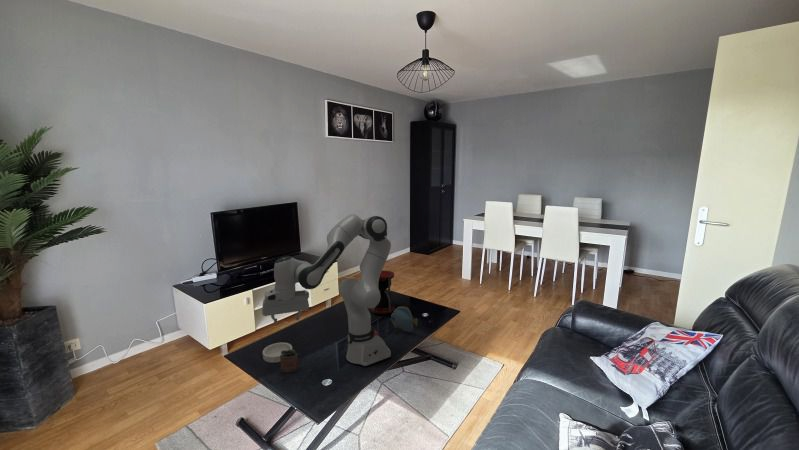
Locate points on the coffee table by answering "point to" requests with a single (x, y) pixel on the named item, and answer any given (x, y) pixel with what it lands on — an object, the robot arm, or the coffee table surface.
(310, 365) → the coffee table surface
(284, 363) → the lighter
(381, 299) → the hourglass
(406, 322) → the decorative fish sculpture
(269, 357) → the ring dish
